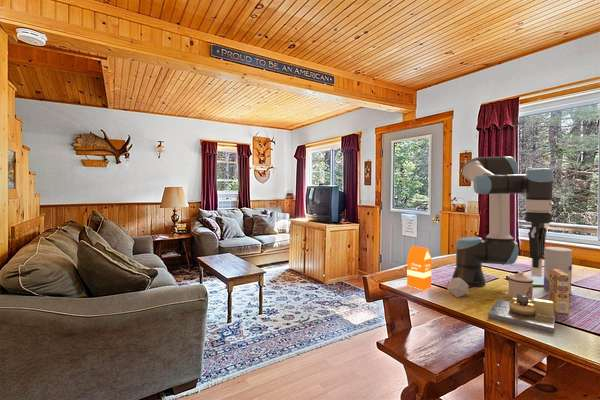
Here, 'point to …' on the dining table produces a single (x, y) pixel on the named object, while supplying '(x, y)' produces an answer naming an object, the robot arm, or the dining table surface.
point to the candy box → (559, 290)
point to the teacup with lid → (520, 285)
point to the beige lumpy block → (532, 307)
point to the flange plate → (521, 316)
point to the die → (458, 287)
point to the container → (557, 263)
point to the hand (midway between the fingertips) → (536, 275)
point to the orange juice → (419, 268)
